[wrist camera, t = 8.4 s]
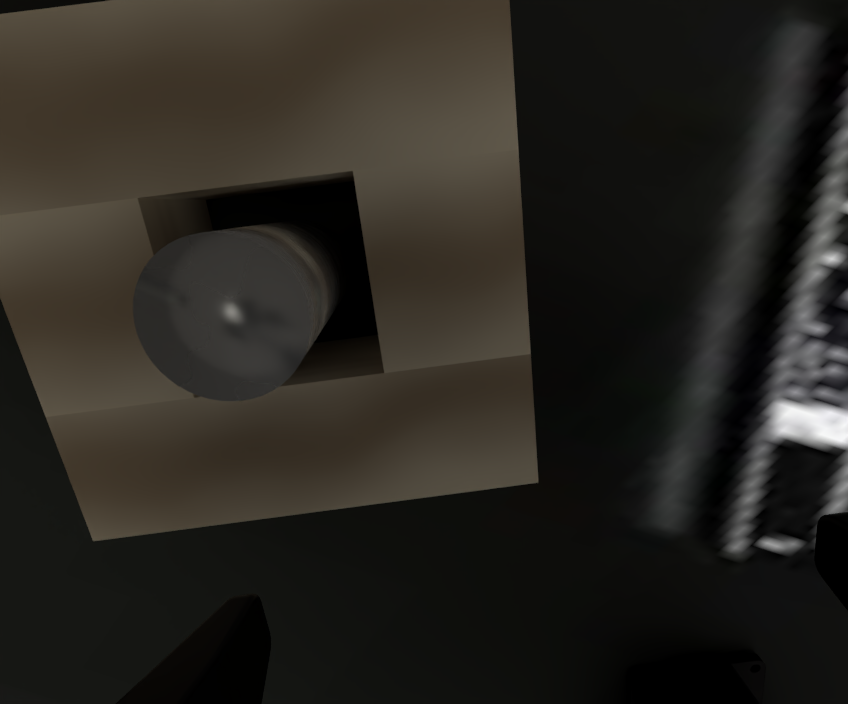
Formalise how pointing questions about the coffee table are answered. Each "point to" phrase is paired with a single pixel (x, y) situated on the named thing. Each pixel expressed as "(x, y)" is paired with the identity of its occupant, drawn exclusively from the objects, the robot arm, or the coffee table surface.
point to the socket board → (256, 173)
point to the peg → (239, 305)
